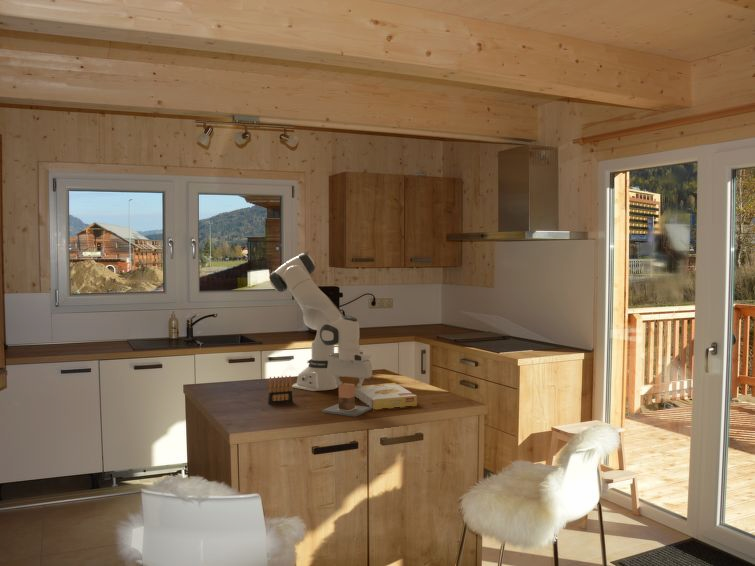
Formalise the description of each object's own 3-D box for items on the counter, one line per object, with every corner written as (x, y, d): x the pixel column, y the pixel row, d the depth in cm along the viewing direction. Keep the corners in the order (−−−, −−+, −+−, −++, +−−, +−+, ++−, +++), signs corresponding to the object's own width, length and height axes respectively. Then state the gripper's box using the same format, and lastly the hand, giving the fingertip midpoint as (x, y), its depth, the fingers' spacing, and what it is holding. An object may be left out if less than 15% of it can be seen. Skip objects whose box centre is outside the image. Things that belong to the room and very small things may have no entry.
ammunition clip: (291, 401, 305) (291, 374, 304) (292, 402, 303) (292, 375, 303) (268, 403, 301) (267, 376, 300) (268, 404, 299) (268, 377, 299)
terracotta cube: (338, 397, 285) (338, 385, 285) (344, 394, 290) (344, 383, 290) (349, 398, 283) (349, 386, 283) (354, 396, 288) (354, 384, 287)
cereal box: (394, 381, 322) (417, 393, 296) (394, 393, 322) (418, 406, 296) (353, 385, 315) (374, 398, 289) (354, 397, 316) (374, 411, 289)
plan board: (322, 412, 284) (322, 409, 284) (338, 405, 297) (338, 403, 297) (355, 416, 277) (355, 414, 277) (371, 409, 289) (371, 407, 289)
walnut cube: (338, 409, 286) (338, 397, 285) (344, 406, 290) (344, 395, 290) (349, 410, 283) (349, 398, 283) (354, 407, 288) (354, 396, 287)
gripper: (324, 354, 289) (324, 386, 290) (366, 357, 280) (367, 390, 281) (331, 351, 294) (331, 383, 295) (373, 355, 285) (373, 387, 286)
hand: (349, 387), depth 288 cm, fingers open, 8 cm apart
